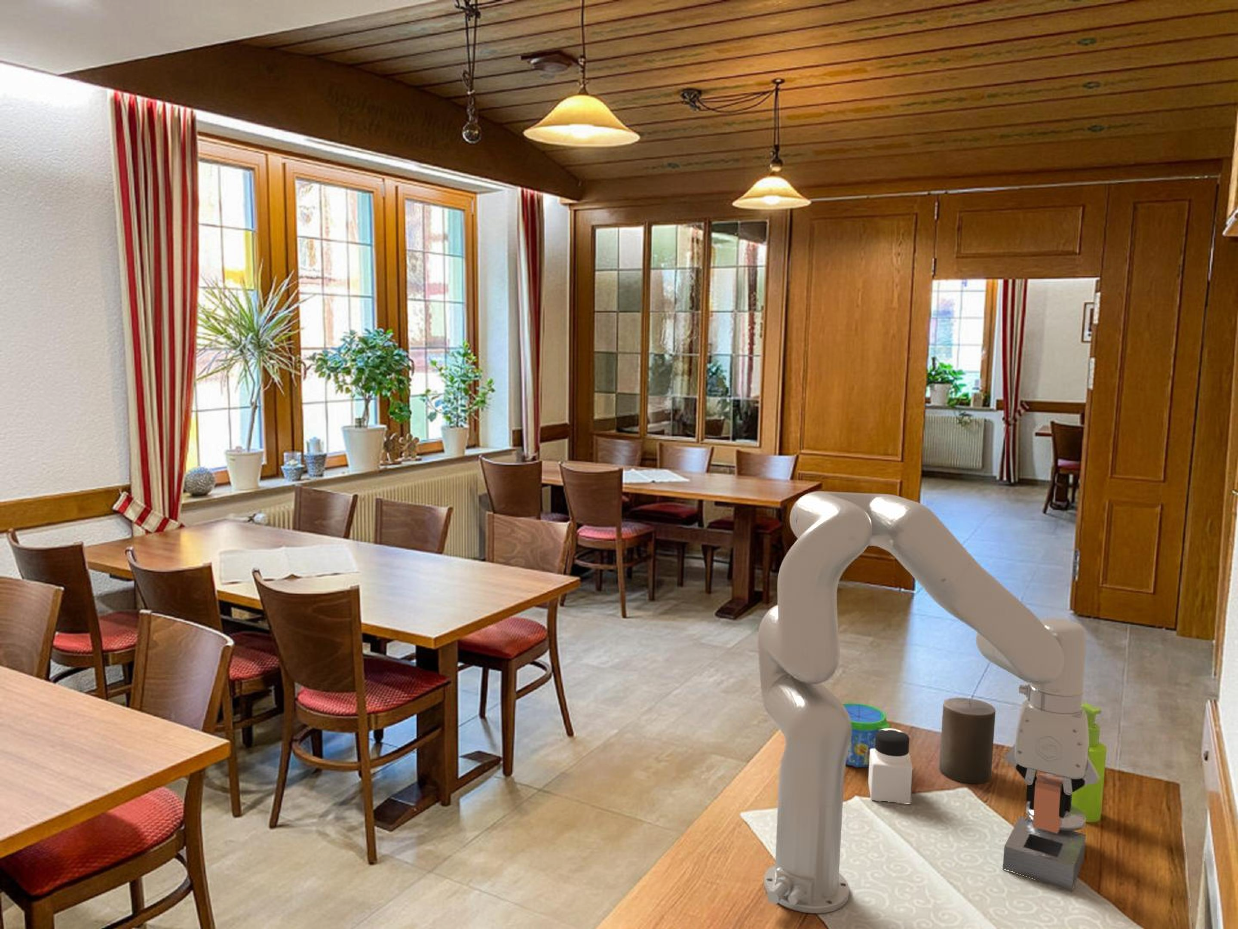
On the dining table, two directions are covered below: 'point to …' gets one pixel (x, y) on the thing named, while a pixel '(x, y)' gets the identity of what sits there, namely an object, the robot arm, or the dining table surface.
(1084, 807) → the soap dispenser
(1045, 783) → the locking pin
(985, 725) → the pillar candle
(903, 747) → the medicine bottle
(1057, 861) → the slotted block
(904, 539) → the robot arm
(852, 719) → the snack cup
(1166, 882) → the dining table surface
